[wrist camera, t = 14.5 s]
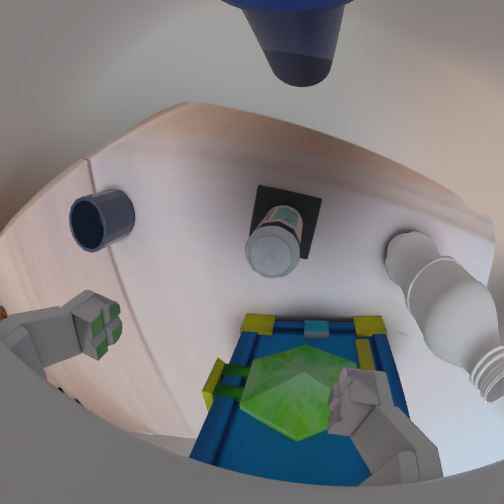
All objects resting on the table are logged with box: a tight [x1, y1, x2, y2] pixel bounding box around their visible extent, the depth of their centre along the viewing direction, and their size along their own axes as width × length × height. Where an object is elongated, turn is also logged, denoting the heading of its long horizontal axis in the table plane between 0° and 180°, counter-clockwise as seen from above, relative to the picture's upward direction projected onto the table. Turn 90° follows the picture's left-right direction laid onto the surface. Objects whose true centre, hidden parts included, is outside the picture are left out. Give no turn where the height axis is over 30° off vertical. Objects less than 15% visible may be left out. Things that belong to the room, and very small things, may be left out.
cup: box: [69, 189, 135, 253], centre depth 36 cm, size 8×8×7 cm
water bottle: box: [385, 231, 504, 403], centre depth 21 cm, size 7×7×25 cm
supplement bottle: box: [245, 205, 303, 278], centre depth 28 cm, size 5×5×12 cm
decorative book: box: [189, 314, 410, 486], centre depth 26 cm, size 14×23×30 cm, turn 94°
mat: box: [249, 185, 322, 259], centre depth 34 cm, size 8×8×1 cm
